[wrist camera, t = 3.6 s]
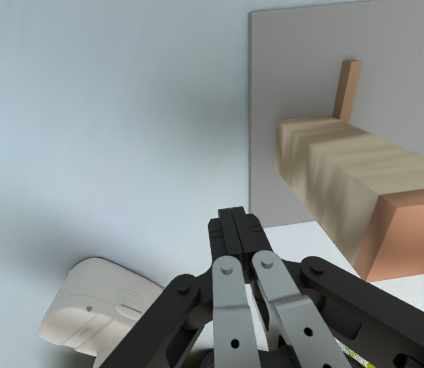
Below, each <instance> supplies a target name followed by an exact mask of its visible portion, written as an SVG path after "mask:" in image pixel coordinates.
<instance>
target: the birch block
mask: <svg viewBox="0 0 424 368" xmlns="http://www.w3.org/2000/svg"><path fill="white" fill-rule="evenodd" d="M274 168H275V169H276V170H277V172H278V173H279V174H280V175H281V177H282V178H283V179H284V181H285V182H286V183H287V184H288V186H289V187H290V188H291V189H292V191H293V192H294V193H295V195H296V196H297V197H298V198H299V200H300V201H301V202H302V203H303V205H304V206H305V207H306V209H307V210H308V211H309V212H310V214H311V215H312V216H313V217H314V219H315V220H316V221H317V223H318V224H319V225H320V226H321V228H322V229H323V230H324V231H325V233H326V234H327V235H328V237H329V238H330V239H331V240H332V242H333V243H334V244H335V245H336V247H337V248H338V249H339V251H340V252H341V253H342V254H343V256H344V257H345V258H346V259H347V261H348V262H349V263H350V265H351V266H352V267H353V268H354V270H355V271H356V272H357V273H358V275H359V276H360V277H361V279H362V280H364V281H366V282H368V283H369V282H375V281H382V280H388V279H394V278H401V277H407V276H414V275H420V274H424V156H422V155H420V154H418V153H416V152H413V151H411V150H409V149H406V148H404V147H402V146H399V145H397V144H395V143H392V142H390V141H388V140H385V139H383V138H381V137H378V136H376V135H374V134H371V133H369V132H367V131H364V130H362V129H360V128H357V127H355V126H353V125H350V124H348V123H346V122H343V121H341V120H339V119H336V118H334V117H332V116H329V115H321V116H312V117H304V118H295V119H287V120H278V121H277V130H276V146H275V161H274Z"/></svg>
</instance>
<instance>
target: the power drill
mask: <svg viewBox="0 0 424 368" xmlns="http://www.w3.org/2000/svg"><path fill="white" fill-rule="evenodd" d="M162 292H163V289H162V288H161V287H160V286H158V285H156V284H155V283H153V282H151V281H149V280H147V279H145V278H143V277H141V276H139V275H137V274H135V273H133V272H131V271H129V270H127V269H125V268H123V267H121V266H119V265H116V264H114V263H112V262H109V261H107V260H104V259H101V258H96V257H93V258H88V259H86V260H83V261H82V262H80V263H78V264H77V265H76V266H75V267H74V268H72V270H71V271H70V272H69V274H68V275H67V277H66V279H65V281H64V283H63V285H62V286H61V288H60V290H59V292H58V293H57V295H56V297H55V299H54V300H53V302H52V304H51V305H50V307H49V309H48V311H47V312H46V314H45V316H44V318H43V320H42V322H41V324H40V326H39V335H40V336H41V337H42V338H44V339H45V340H47V341H50V342H52V343H54V344H57V345H65V346H68V347H72V348H75V351H77V352H81V353H84V354H88V355H92V356H96V359H95V362H94V365H93V368H99V367H100V365H101V364H102V363H103V362H104V361H105V359H106V358H107V357H108V356H109V355H110V353H111V352H112V351H113V350H114V349H115V348H116V346H117V345H118V344H119V343H120V342H121V340H122V339H123V338H124V337H125V336H126V335H127V333H128V332H129V331H130V330H131V329H132V327H133V326H134V325H135V324H136V323H137V321H138V320H139V319H140V318H141V317H142V316H143V314H144V313H145V312H146V311H147V310H148V308H149V307H150V306H151V305H152V304H153V302H154V301H155V300H156V299H157V298H158V297H159V295H160V294H161V293H162Z"/></svg>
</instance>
